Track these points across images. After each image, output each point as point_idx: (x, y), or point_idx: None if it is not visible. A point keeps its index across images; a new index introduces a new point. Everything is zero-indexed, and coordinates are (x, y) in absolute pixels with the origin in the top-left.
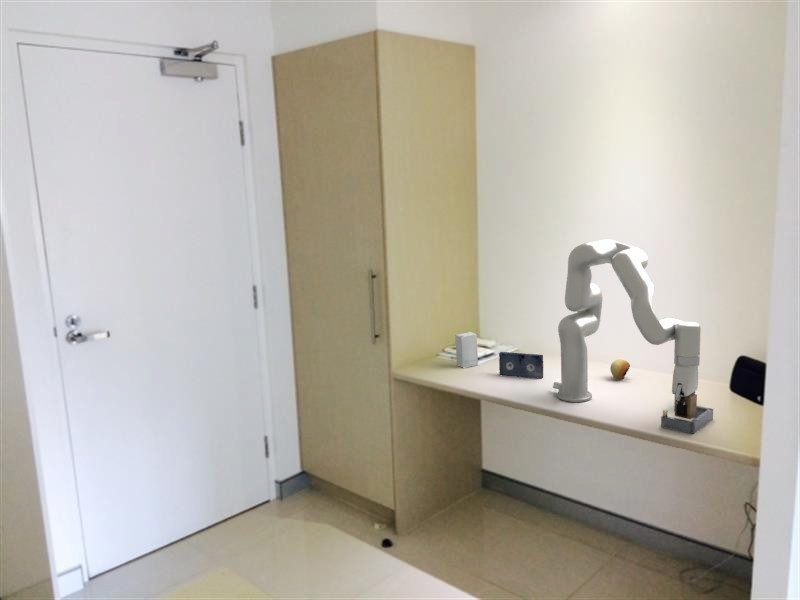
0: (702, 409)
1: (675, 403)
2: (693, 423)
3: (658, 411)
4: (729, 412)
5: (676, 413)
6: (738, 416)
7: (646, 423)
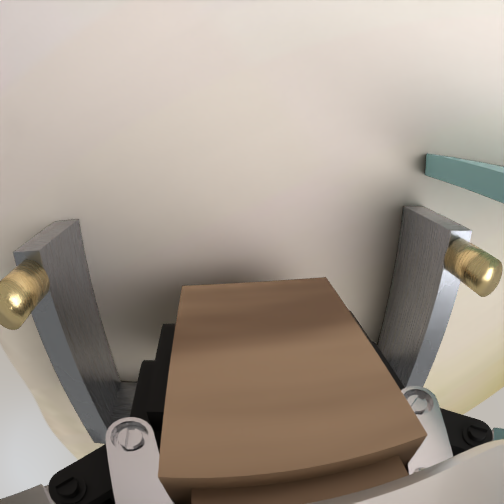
0: (404, 374)
1: (170, 380)
2: (95, 442)
3: (362, 53)
4: (477, 363)
5: (162, 328)
6: (443, 401)
7: (44, 108)
